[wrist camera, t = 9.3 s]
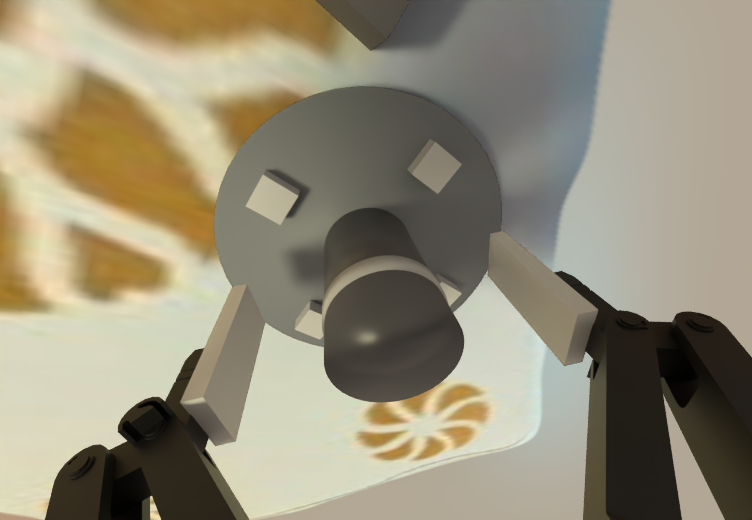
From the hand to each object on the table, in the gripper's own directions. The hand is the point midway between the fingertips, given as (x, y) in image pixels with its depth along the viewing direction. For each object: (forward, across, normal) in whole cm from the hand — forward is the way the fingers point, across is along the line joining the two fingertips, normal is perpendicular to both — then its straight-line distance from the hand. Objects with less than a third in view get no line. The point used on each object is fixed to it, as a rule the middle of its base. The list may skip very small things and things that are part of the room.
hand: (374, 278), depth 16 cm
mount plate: (+5, 0, 0) cm, 5 cm away
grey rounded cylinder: (+4, 0, 0) cm, 4 cm away
